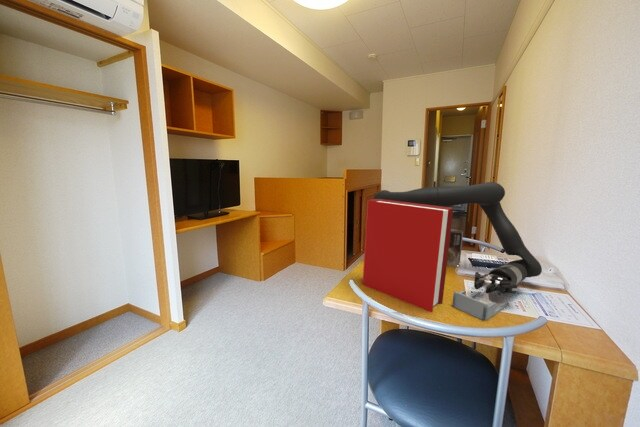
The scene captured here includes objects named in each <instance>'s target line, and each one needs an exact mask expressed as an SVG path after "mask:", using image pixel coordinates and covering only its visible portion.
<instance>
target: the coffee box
mask: <svg viewBox="0 0 640 427" xmlns="http://www.w3.org/2000/svg"><path fill="white" fill-rule="evenodd" d="M463 236H464V230H463V229H462V230H461V229H453V228H451V233H450V242H449V250H448V259H447V266H448V267H454V268H457V267H456V266H457V265H459V263H460V264H461V255H462V246H463ZM459 266H460V265H459Z"/></svg>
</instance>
